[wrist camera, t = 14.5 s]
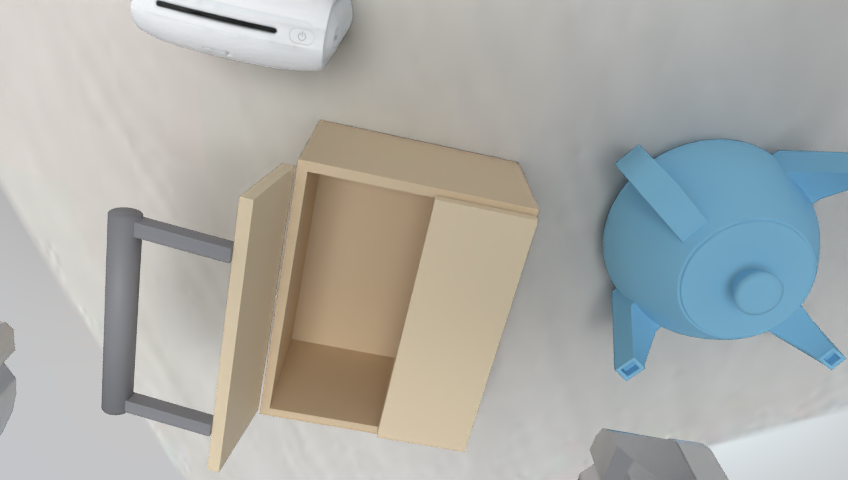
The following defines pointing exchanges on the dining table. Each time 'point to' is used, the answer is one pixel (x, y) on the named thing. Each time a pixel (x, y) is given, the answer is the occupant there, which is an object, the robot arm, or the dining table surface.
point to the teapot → (717, 246)
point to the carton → (395, 285)
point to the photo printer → (251, 29)
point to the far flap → (243, 320)
